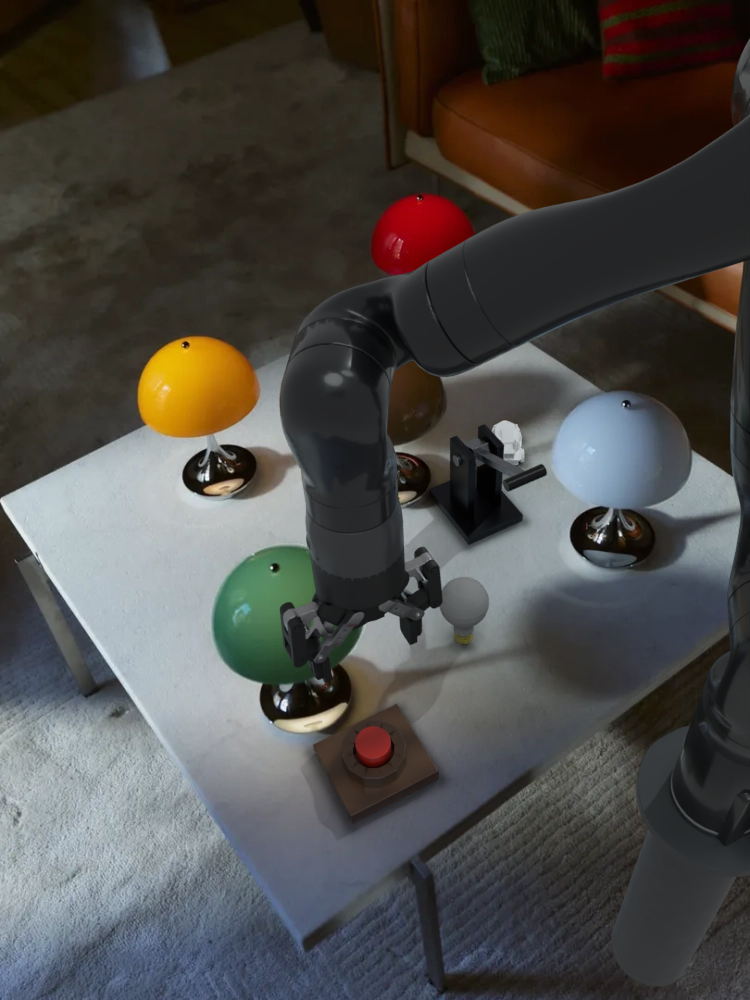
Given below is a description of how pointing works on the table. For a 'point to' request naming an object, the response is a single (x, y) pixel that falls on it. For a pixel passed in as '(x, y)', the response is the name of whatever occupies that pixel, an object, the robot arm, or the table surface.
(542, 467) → the lever
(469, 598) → the light bulb
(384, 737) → the button
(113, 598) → the table surface
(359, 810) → the button block
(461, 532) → the bracket
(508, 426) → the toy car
